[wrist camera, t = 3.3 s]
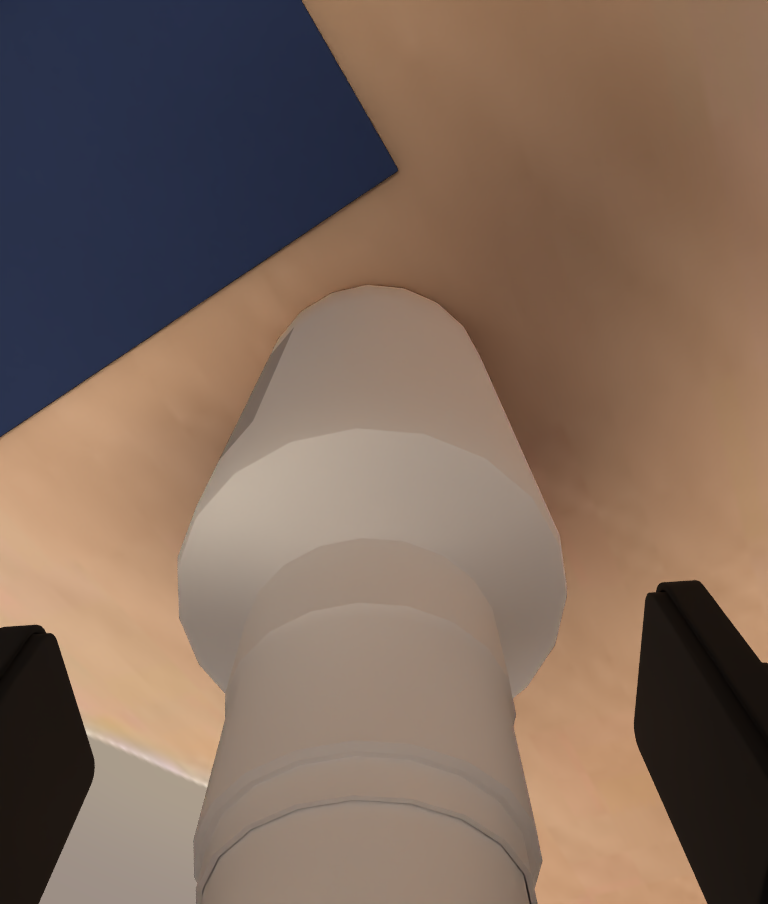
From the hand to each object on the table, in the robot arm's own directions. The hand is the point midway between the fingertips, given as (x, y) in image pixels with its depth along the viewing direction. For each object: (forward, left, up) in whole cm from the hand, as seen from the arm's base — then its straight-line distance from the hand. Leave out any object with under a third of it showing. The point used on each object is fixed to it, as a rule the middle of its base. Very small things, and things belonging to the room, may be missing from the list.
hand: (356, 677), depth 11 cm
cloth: (+10, -6, -12) cm, 17 cm away
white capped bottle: (0, 0, -13) cm, 13 cm away
